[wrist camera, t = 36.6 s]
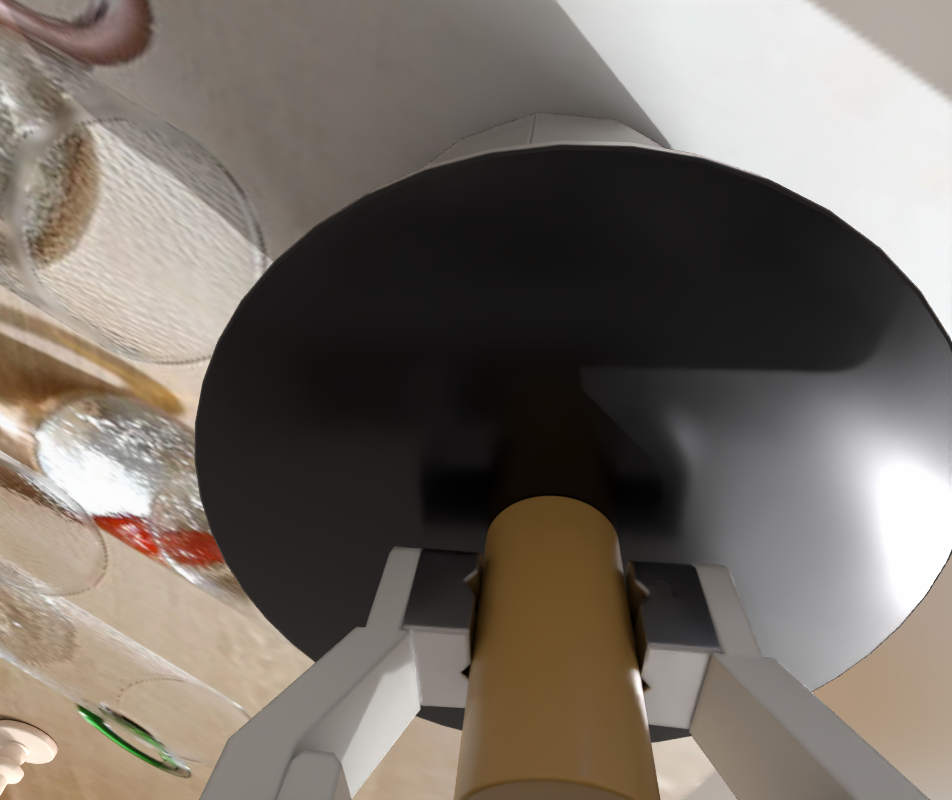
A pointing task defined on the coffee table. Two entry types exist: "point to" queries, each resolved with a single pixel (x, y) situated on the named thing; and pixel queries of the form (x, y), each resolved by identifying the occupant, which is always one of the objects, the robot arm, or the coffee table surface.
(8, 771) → the candlestick
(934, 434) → the lid
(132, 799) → the coffee table surface
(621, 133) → the pot
